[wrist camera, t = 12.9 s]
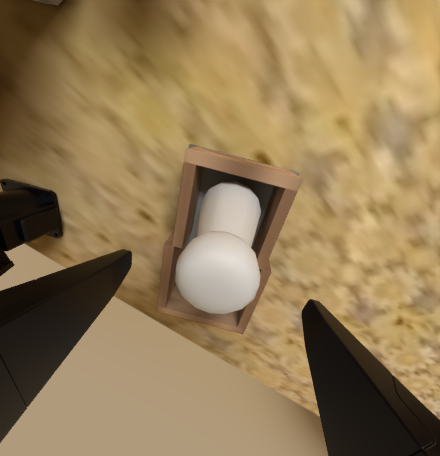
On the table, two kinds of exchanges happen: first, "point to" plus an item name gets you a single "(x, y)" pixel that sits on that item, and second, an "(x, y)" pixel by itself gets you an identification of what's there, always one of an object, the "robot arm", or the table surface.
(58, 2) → the coffeepot
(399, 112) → the table surface
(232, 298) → the salt shaker
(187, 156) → the brown wooden rectangular tray
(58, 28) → the table surface
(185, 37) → the table surface
